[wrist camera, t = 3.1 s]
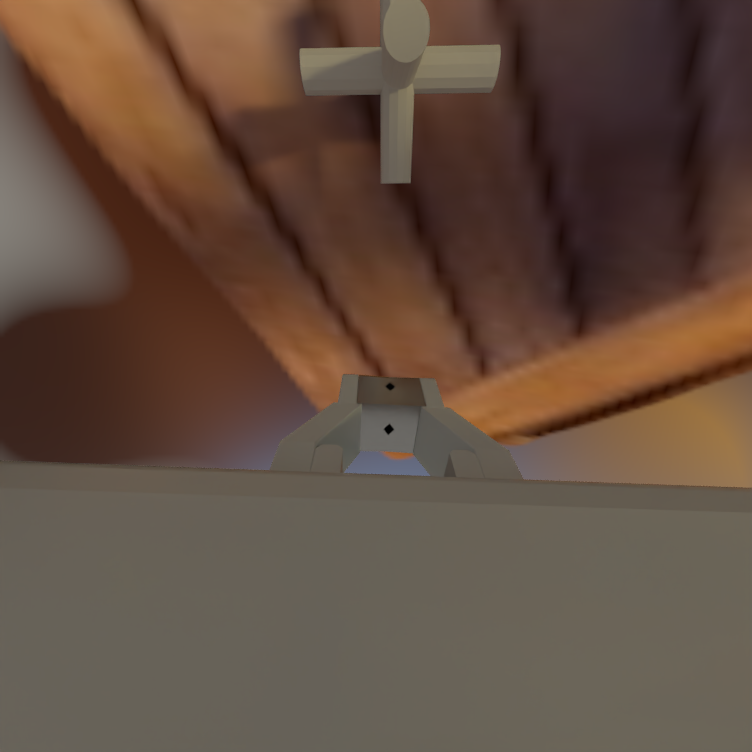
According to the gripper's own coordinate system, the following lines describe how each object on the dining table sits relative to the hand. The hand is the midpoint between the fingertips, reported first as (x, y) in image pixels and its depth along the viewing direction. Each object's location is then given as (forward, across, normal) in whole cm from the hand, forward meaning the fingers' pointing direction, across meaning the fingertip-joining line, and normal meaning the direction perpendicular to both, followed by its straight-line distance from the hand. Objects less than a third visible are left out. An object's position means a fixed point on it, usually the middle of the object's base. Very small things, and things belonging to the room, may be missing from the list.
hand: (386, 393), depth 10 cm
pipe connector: (+19, 0, -11) cm, 22 cm away
